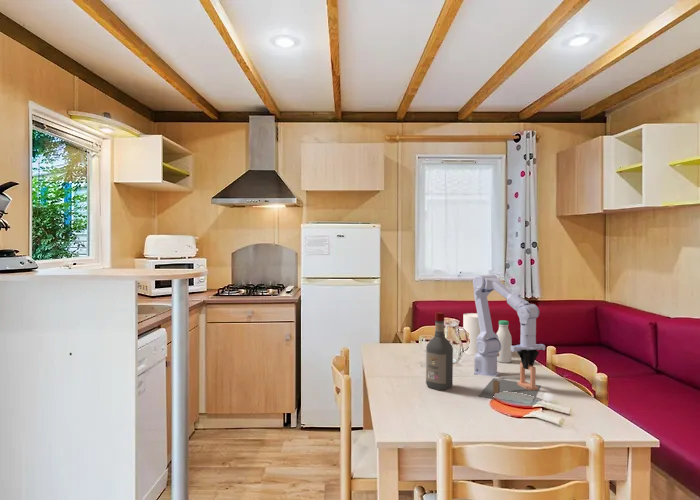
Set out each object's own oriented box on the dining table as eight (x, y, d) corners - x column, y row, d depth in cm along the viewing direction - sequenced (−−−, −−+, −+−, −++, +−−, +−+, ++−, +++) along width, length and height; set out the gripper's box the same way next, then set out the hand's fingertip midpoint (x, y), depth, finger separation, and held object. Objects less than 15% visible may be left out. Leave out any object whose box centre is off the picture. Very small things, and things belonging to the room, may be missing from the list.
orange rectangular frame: (529, 390, 172) (529, 367, 172) (517, 384, 179) (517, 362, 179) (538, 389, 173) (538, 367, 173) (525, 383, 180) (526, 362, 180)
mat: (478, 396, 166) (478, 395, 166) (493, 378, 188) (493, 378, 188) (531, 406, 157) (531, 404, 157) (541, 386, 178) (541, 385, 178)
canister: (458, 352, 234) (458, 315, 234) (471, 348, 243) (472, 312, 243) (480, 357, 224) (481, 318, 224) (494, 352, 233) (494, 315, 233)
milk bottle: (513, 360, 218) (513, 320, 218) (509, 364, 211) (509, 322, 211) (497, 358, 222) (497, 319, 222) (493, 361, 215) (493, 321, 215)
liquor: (443, 392, 171) (443, 315, 171) (423, 386, 177) (424, 312, 177) (454, 386, 178) (455, 312, 177) (435, 381, 184) (436, 310, 184)
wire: (492, 396, 166) (493, 381, 166) (501, 384, 179) (501, 371, 179) (512, 399, 162) (513, 384, 162) (520, 387, 175) (520, 373, 175)
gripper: (518, 337, 170) (518, 372, 170) (550, 335, 174) (550, 369, 174) (507, 333, 177) (507, 367, 177) (538, 332, 181) (538, 365, 181)
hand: (527, 368), depth 176 cm, fingers closed on orange rectangular frame, 2 cm apart
